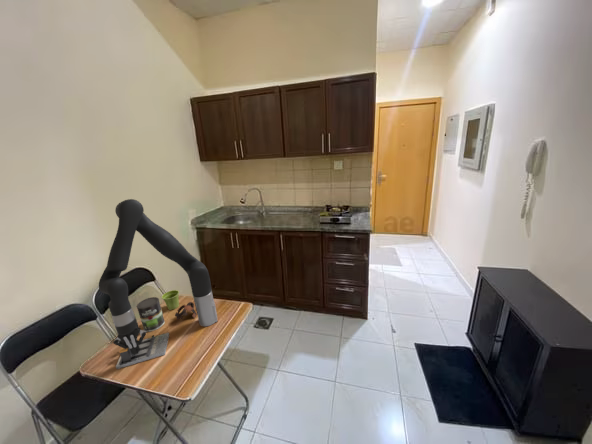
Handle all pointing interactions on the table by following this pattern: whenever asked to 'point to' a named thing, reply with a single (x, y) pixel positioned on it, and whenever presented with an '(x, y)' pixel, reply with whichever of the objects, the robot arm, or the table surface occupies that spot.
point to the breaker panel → (147, 350)
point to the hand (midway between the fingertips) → (136, 352)
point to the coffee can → (150, 314)
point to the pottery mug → (186, 307)
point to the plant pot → (171, 299)
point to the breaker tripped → (125, 354)
